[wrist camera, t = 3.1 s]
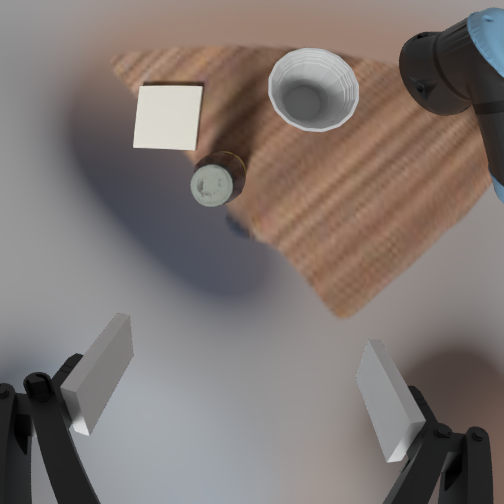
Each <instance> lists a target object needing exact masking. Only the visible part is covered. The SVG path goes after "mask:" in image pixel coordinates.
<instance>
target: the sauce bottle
mask: <svg viewBox="0 0 504 504" xmlns="http://www.w3.org/2000/svg"><path fill="white" fill-rule="evenodd" d="M245 180H246V169H245V165H244V163H243V161H242V160H241V158H240V157H238V156H237V155H235V154H234V153H231V152H226V151H223V152H214V153H211V154H209V155H207V156H205V157H204V158H203V159H201V160H200V161H199V162H198V163H197V164H196V165H195V170H194V174H193V176H192V179H191V183H190V187H191V192H192V195H193V197H194V198H195V199H196V200H197V201H198V202H199V203H200V204H202V205H204V206H208V207H216V206H219V205H221V204H226V203H228V202H230V201H232V200H234V199H235V198H236V197H237V196H238V195H239V194H241V192H242V189H243V187H244V185H245Z"/></svg>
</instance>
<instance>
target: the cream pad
mask: <svg viewBox="0 0 504 504" xmlns="http://www.w3.org/2000/svg"><path fill="white" fill-rule="evenodd" d="M202 94H203V87H202V86H140V90H139V98H138V106H137V115H136V124H135V134H134V145H133V147H134V148H161V149H162V148H163V149H182V150H196V148H197V138H198V129H199V120H200V111H201V102H202Z"/></svg>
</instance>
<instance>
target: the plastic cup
mask: <svg viewBox="0 0 504 504" xmlns="http://www.w3.org/2000/svg"><path fill="white" fill-rule="evenodd" d="M268 95H269V97H270V100H271V102H272V104H273V107H274V109H275V111H276V112H277V113H278V114H279V115H280V116H281V117H282V118H283V119H284V120H285V121H286V122H287V123H289V124H291V125H293V126H295V127H297V128H300V129H302V130H304V131H316V132H324V131H327V130H330V129H333V128H337V127H340V126H341V125H342V124H343V123H344V122H345V121H346V120H348V119H349V118H350V117H351V116H352V115H353V112H354V110H355V108H356V106H357V103H358V101H359V84H358V82H357V79H356V77H355V75H354V73H353V70H352V68H351V67H350V66H349V65H348V64H347V63H346V62H345V61H344V60H343V59H342V58H340V57H339V56H338V55H335V54H333V53H331V52H329V51H327V50H324V49H319V48H302V49H299V50H295V51H292V52H289V53H287V54H286V55H285V56H284V57H283V58H281V59H280V60H279V61H278V62H277V63H276V64H275V66H274V68H273V70H272V72H271V74H270V76H269V87H268Z"/></svg>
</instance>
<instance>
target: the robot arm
mask: <svg viewBox="0 0 504 504" xmlns="http://www.w3.org/2000/svg"><path fill="white" fill-rule="evenodd" d="M399 58H400V59H399V67H400V73H401V77H402V80H403V82H404V84H405V86H406V88H407V90H408V91H409V93H410V94H411V96H412V97H413V98H414V99H415V100H416V102H417V103H419V104H420V105H421V106H422V107H423V108H425V109H426V110H428V111H430V112H432V113H434V114H437V115H443V116H447V115H455V114H459V113H461V112H463V111H465V110H466V109H467V108H468V107H469V106H470V105H471V104H473V107H474V110H475V113H476V117H477V120H478V124H479V127H480V131H481V134H482V138H483V142H484V146H485V150H486V154H487V158H488V163H489V165H488V169H489V173H490V176H491V177H492V181H493V185H494V190H495V192H496V194H497V196H498V198H499V199H500V200H501V201H502V202H503V203H504V9H501V8H488V9H486V10H483V11H480V12H475V13H473V14H471V15H470V16H469V17H468V18H466V19H464V20H462V21H461V22H459V23H457V24H455V25H453V26H452V27H450V28H448V29H446V30H445V31H443V32H423V33H420V34H418V35H416V36H414V37H412V38H411V39H409V40H408V41H407V42H406V43H405V44H404V46H403V47H402V50H401V53H400V57H399ZM133 356H134V355H133V346H132V334H131V321H130V315H126V314H121V313H117V314H116V315H115V317H114V318H113V319H112V320H111V322H110V323H109V324H108V325H107V327H106V328H105V329H104V330H103V332H102V333H101V334H100V335H99V337H98V338H97V339H96V340H95V342H94V343H93V344H92V346H91V347H90V348H89V350H88V351H87V352H86V353H85V355H81V354H77V353H76V354H74V355H73V356H71V357H69V358H68V359H67V360H66V362H65V363H64V364H63V365H62V367H61V368H60V369H59V371H57V373H56V374H55V375H54V377H53V378H52V379H51V378H50V376H49V375H47V374H46V373H42V372H35V373H32V374H30V375H28V376H27V377H26V378H25V379H24V382H23V385H24V388H25V390H26V393H27V394H22V393H16V392H15V390H14V388H13V386H11V385H10V384H7V383H1V384H0V504H32V497H31V443H32V437H37V439H38V442H39V446H40V450H41V453H42V457H43V461H44V464H45V467H46V470H47V473H48V476H49V480H50V483H51V485H52V488H53V491H54V494H55V497H56V499H57V502H58V504H101V503H100V502H99V499H98V498H97V495H96V493H95V492H94V489H93V487H92V485H91V483H90V481H89V479H88V476H87V474H86V472H85V469H84V467H83V465H82V462H81V460H80V458H79V455H78V453H77V450H76V447H75V445H74V442H73V440H72V437H71V434H70V431H69V427H70V426H71V424H73V427H74V429H75V431H76V432H79V433H82V434H85V435H89V436H90V435H91V433H92V431H93V429H94V427H95V425H96V423H97V421H98V419H99V418H100V416H101V414H102V412H103V410H104V408H105V406H106V404H107V403H108V401H109V399H110V397H111V395H112V393H113V391H114V389H115V388H116V386H117V384H118V382H119V381H120V379H121V377H122V375H123V373H124V371H125V370H126V368H127V366H128V364H129V363H130V361H131V359H132V357H133ZM355 378H356V380H357V383H358V386H359V388H360V391H361V393H362V396H363V398H364V401H365V404H366V406H367V409H368V412H369V415H370V417H371V420H372V423H373V425H374V428H375V431H376V434H377V437H378V439H379V442H380V445H381V448H382V451H383V453H384V456H385V459H386V462H395V461H401V460H402V458H403V457H404V455H405V454H406V453H407V455H408V458H409V459H408V461H407V462H406V463H405V465H404V466H403V468H402V469H401V470H400V472H401V473H400V475H399V477H398V478H397V480H396V482H395V484H394V486H393V487H392V489H391V491H390V493H389V494H388V496H387V498H386V499H385V501H384V502H383V504H428V502H429V499H430V497H431V495H432V493H433V490H434V488H435V486H436V483H437V481H438V478H439V476H440V473H441V480H440V489H439V498H438V504H493V476H492V462H491V452H490V442H489V436H488V433H487V432H486V431H485V430H484V429H482V428H480V427H471V428H469V429H468V431H467V432H466V433H465V434H460V433H453V432H452V430H451V429H450V428H449V427H448V426H447V425H445V424H442V423H438V421H437V420H436V418H435V416H434V414H433V413H432V411H431V409H430V407H429V406H428V405H427V402H426V401H425V400H424V397H423V395H422V394H421V392H420V391H419V390H418V389H417V388H416V387H414V386H407V385H406V383H405V382H404V380H403V378H402V377H401V375H400V373H399V371H398V369H397V368H396V366H395V364H394V362H393V361H392V359H391V357H390V356H389V354H388V352H387V350H386V349H385V347H384V345H383V344H382V342H381V340H370V339H369V340H368V342H367V345H366V348H365V351H364V354H363V357H362V360H361V363H360V366H359V369H358V372H357V375H356V377H355Z"/></svg>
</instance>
